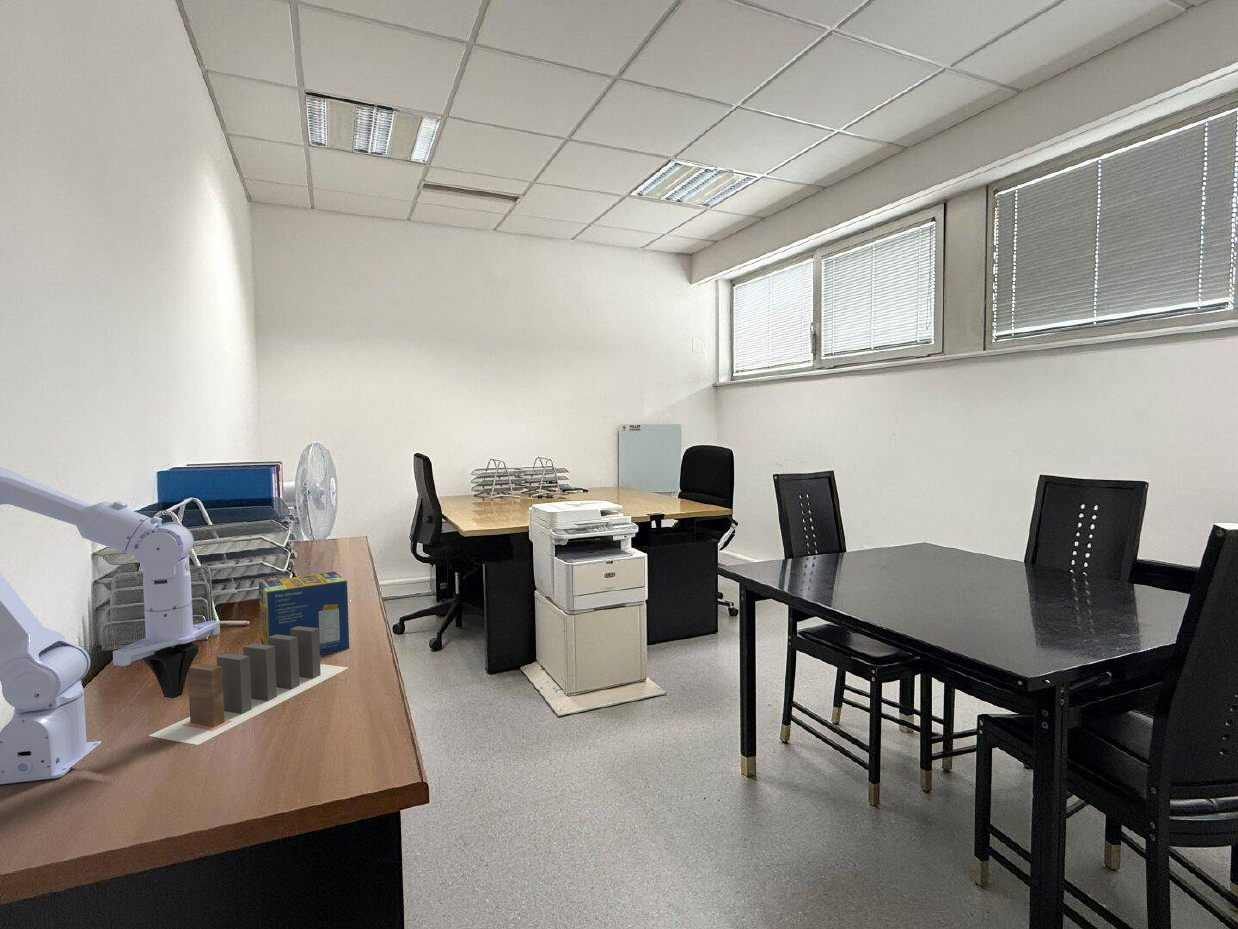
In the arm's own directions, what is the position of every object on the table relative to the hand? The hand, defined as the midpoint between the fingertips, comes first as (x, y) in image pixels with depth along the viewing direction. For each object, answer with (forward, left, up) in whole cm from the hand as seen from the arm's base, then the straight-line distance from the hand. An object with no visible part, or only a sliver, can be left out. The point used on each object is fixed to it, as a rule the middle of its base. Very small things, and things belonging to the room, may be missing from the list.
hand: (173, 695), depth 92 cm
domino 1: (+4, -3, -6) cm, 8 cm away
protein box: (+37, -9, -8) cm, 39 cm away
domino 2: (+9, -5, -7) cm, 12 cm away
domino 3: (+13, -8, -7) cm, 16 cm away
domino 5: (+22, -12, -7) cm, 26 cm away
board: (+13, -7, -7) cm, 17 cm away
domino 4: (+17, -10, -7) cm, 21 cm away
